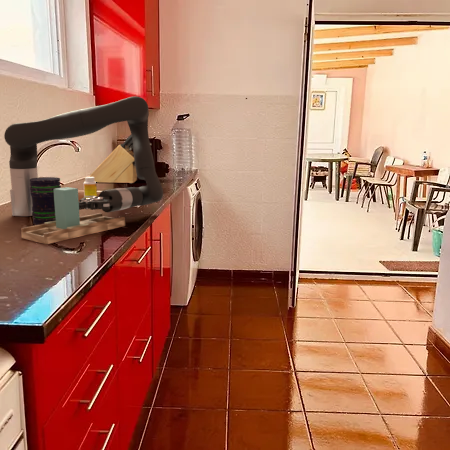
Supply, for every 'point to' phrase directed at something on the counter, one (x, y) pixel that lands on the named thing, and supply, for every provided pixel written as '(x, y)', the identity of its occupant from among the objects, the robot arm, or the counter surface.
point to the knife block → (118, 165)
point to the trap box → (71, 229)
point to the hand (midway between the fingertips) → (73, 206)
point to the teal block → (66, 207)
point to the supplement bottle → (90, 187)
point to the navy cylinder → (43, 199)
